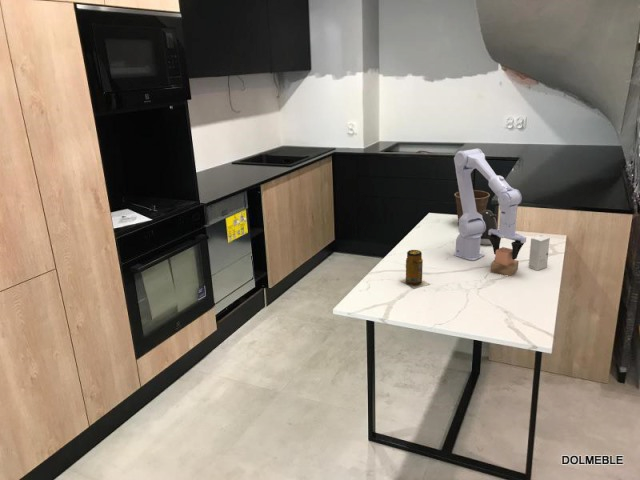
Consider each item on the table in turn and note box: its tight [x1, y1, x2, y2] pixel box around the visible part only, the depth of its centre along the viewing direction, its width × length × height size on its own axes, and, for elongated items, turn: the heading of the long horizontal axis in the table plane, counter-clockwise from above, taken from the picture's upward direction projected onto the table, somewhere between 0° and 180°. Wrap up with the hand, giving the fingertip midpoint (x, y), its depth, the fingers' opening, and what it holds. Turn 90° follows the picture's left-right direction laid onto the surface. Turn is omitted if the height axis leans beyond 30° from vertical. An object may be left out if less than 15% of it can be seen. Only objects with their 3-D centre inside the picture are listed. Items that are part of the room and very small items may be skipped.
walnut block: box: [489, 259, 520, 277], centre depth 194 cm, size 8×8×4 cm
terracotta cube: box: [494, 246, 514, 266], centre depth 192 cm, size 5×5×5 cm
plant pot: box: [454, 189, 491, 227], centre depth 245 cm, size 16×16×16 cm
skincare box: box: [528, 235, 551, 271], centre depth 194 cm, size 6×4×12 cm
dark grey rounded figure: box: [480, 209, 499, 246], centre depth 222 cm, size 10×10×15 cm
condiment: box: [400, 249, 430, 289], centre depth 186 cm, size 7×8×12 cm
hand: (505, 256), depth 192 cm, fingers open, 7 cm apart
